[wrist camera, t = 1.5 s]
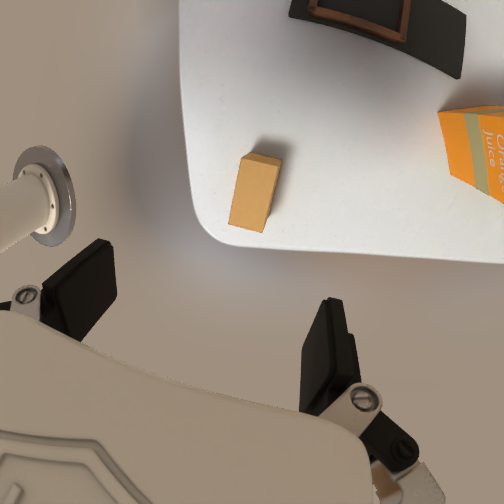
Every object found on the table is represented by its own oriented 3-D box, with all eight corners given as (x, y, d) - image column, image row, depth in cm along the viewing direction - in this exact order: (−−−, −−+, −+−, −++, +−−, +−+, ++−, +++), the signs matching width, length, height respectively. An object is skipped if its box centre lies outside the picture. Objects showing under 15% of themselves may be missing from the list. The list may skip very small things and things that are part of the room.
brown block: (237, 210, 33) (227, 224, 29) (249, 152, 29) (240, 157, 25) (267, 218, 32) (262, 233, 28) (281, 159, 29) (278, 166, 25)
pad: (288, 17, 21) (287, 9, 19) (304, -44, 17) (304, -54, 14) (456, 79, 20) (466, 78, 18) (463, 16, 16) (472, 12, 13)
